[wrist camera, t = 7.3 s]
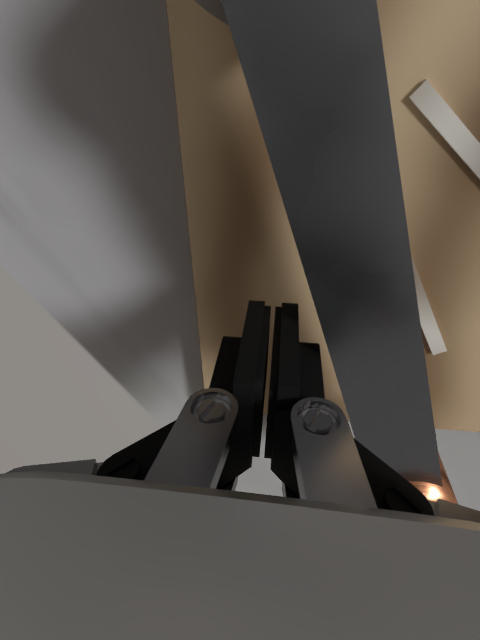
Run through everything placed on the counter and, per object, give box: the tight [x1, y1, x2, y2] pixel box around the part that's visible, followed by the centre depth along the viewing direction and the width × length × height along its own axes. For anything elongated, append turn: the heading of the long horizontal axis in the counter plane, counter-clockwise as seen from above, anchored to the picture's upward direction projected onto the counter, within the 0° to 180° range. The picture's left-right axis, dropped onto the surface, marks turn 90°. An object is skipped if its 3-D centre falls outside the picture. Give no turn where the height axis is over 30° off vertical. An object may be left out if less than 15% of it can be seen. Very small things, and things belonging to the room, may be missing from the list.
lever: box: [220, 0, 458, 504], centre depth 10 cm, size 22×4×3 cm, turn 21°
